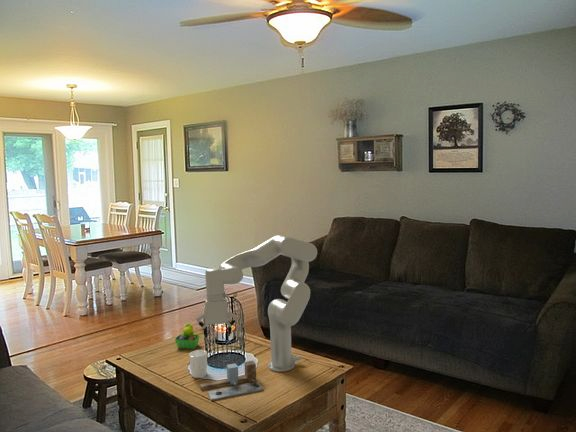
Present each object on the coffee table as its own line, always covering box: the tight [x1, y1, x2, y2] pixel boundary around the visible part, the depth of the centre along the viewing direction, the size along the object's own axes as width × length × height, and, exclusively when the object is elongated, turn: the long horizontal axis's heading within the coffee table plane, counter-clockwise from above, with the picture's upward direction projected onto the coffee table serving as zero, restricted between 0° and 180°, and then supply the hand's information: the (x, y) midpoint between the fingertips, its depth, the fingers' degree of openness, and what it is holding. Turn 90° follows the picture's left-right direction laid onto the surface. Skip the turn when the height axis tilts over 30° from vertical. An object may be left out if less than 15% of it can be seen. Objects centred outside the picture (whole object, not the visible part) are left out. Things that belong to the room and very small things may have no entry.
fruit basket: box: [174, 322, 201, 350], centre depth 248 cm, size 11×9×11 cm
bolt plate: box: [207, 381, 265, 402], centre depth 197 cm, size 22×7×1 cm, turn 111°
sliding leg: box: [226, 363, 239, 386], centre depth 204 cm, size 4×7×7 cm, turn 21°
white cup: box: [188, 349, 208, 379], centre depth 214 cm, size 8×8×10 cm
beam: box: [199, 360, 257, 391], centre depth 204 cm, size 24×7×8 cm, turn 111°
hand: (217, 335), depth 203 cm, fingers open, 9 cm apart
